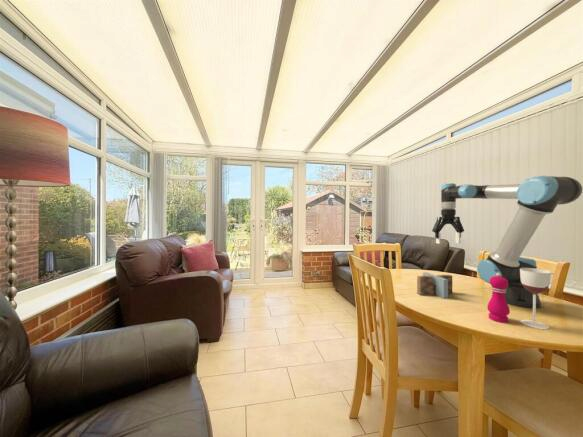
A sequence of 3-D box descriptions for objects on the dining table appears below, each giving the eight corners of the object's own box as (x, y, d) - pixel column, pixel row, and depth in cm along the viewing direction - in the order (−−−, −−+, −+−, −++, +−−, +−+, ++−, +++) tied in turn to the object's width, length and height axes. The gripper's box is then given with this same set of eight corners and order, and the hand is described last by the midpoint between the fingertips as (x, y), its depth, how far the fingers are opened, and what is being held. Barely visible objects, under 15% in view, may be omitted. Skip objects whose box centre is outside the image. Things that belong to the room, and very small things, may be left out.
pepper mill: (500, 316, 105) (501, 270, 105) (514, 323, 98) (515, 275, 98) (483, 315, 106) (483, 270, 105) (495, 323, 99) (495, 274, 98)
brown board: (448, 291, 138) (448, 274, 138) (452, 293, 135) (452, 275, 135) (417, 293, 135) (417, 276, 135) (420, 295, 132) (420, 277, 132)
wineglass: (522, 326, 96) (523, 271, 95) (516, 317, 104) (517, 266, 103) (553, 331, 91) (554, 274, 91) (545, 322, 99) (546, 269, 99)
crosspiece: (447, 298, 128) (448, 279, 127) (443, 298, 127) (443, 279, 127) (426, 289, 143) (426, 272, 143) (422, 289, 143) (422, 272, 143)
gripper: (461, 209, 153) (460, 242, 154) (425, 209, 150) (425, 242, 150) (471, 208, 146) (471, 243, 146) (434, 208, 142) (434, 244, 143)
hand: (448, 243), depth 148 cm, fingers open, 13 cm apart
